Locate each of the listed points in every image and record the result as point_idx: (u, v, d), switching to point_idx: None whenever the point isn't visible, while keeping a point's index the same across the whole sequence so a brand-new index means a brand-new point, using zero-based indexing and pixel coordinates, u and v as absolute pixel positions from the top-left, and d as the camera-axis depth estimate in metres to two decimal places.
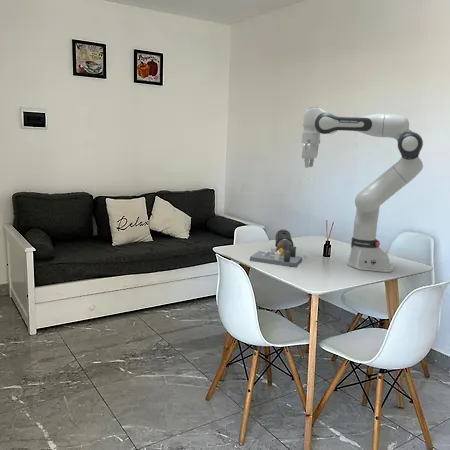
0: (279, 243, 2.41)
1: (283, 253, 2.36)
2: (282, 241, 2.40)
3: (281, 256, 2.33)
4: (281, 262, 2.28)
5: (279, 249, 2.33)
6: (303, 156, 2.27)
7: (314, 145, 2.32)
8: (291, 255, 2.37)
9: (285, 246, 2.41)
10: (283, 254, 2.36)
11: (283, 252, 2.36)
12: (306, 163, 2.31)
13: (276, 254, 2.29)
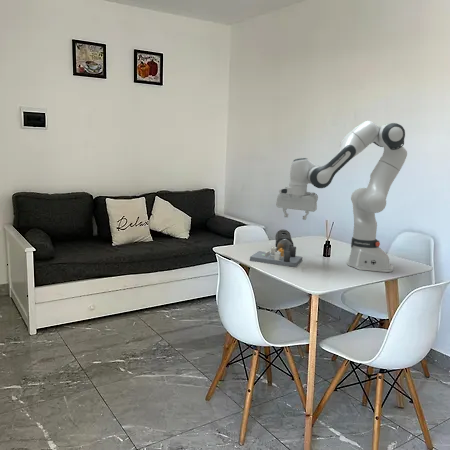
0: (279, 243, 2.41)
1: (283, 253, 2.36)
2: (282, 241, 2.40)
3: (281, 256, 2.33)
4: (281, 262, 2.28)
5: (279, 249, 2.33)
6: (315, 209, 2.24)
7: None
8: (291, 255, 2.37)
9: (285, 246, 2.41)
10: (283, 254, 2.36)
11: (283, 252, 2.36)
12: (306, 215, 2.27)
13: (276, 254, 2.29)
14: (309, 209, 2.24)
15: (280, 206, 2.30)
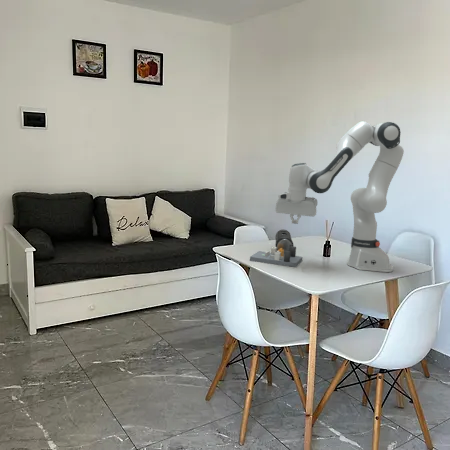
0: (279, 243, 2.41)
1: (283, 253, 2.36)
2: (282, 241, 2.40)
3: (281, 256, 2.33)
4: (281, 262, 2.28)
5: (279, 249, 2.33)
6: (315, 214, 2.24)
7: None
8: (291, 255, 2.37)
9: (285, 246, 2.41)
10: (283, 254, 2.36)
11: (283, 252, 2.36)
12: (298, 219, 2.28)
13: (276, 254, 2.29)
14: (309, 214, 2.24)
15: (279, 211, 2.30)
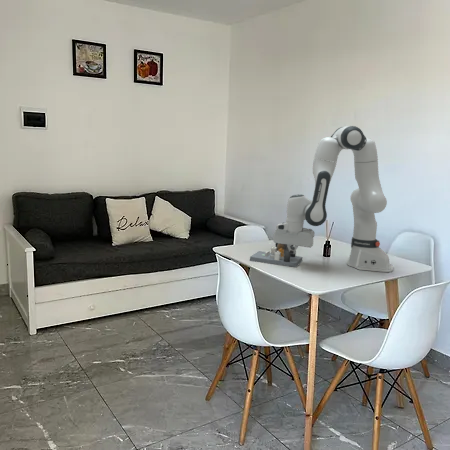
0: (279, 243, 2.41)
1: (283, 253, 2.36)
2: None
3: (281, 256, 2.33)
4: (281, 262, 2.28)
5: (279, 249, 2.33)
6: (312, 245, 2.27)
7: None
8: (291, 255, 2.37)
9: (285, 246, 2.41)
10: (283, 254, 2.36)
11: (283, 252, 2.36)
12: None
13: (276, 254, 2.29)
14: (306, 245, 2.27)
15: (277, 241, 2.32)
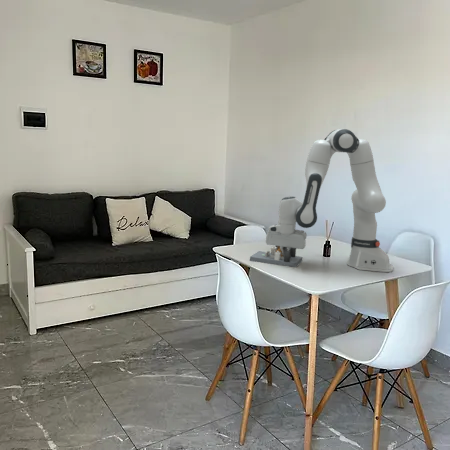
0: None
1: None
2: None
3: None
4: (281, 262, 2.28)
5: (278, 249, 2.33)
6: (304, 247, 2.29)
7: None
8: (291, 255, 2.37)
9: None
10: None
11: None
12: None
13: (276, 254, 2.29)
14: (298, 247, 2.29)
15: (270, 243, 2.34)
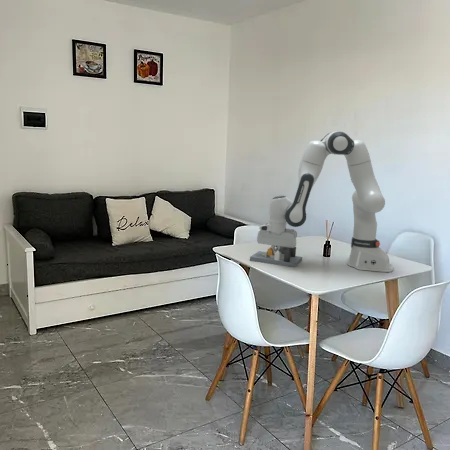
0: None
1: None
2: None
3: None
4: (281, 262, 2.28)
5: (269, 248, 2.35)
6: (294, 245, 2.30)
7: None
8: (291, 255, 2.37)
9: None
10: None
11: None
12: (278, 250, 2.35)
13: (276, 254, 2.29)
14: (289, 245, 2.30)
15: (261, 242, 2.36)
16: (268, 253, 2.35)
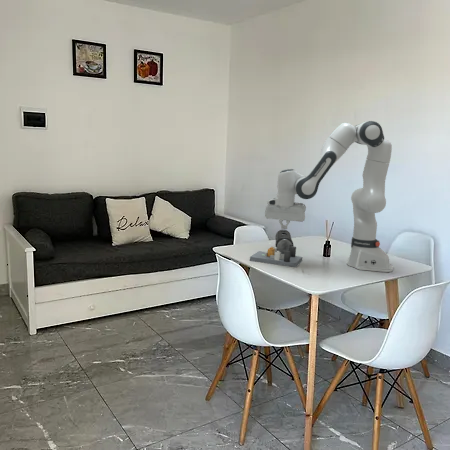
0: (279, 243, 2.41)
1: None
2: (282, 241, 2.40)
3: None
4: (281, 262, 2.28)
5: (270, 248, 2.35)
6: (303, 219, 2.27)
7: None
8: (291, 255, 2.37)
9: (285, 246, 2.41)
10: None
11: None
12: (287, 225, 2.32)
13: (276, 254, 2.29)
14: (298, 219, 2.27)
15: (269, 217, 2.33)
16: (268, 253, 2.35)
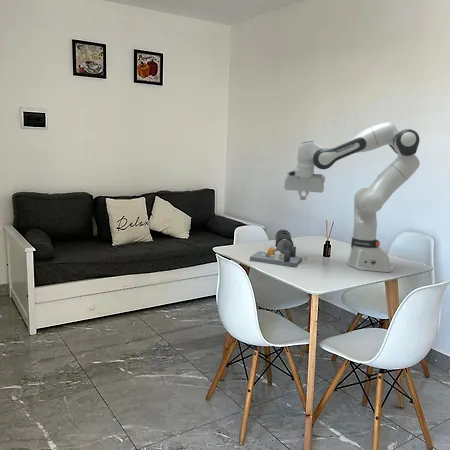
0: (279, 243, 2.41)
1: None
2: (282, 241, 2.40)
3: None
4: (281, 262, 2.28)
5: (270, 248, 2.35)
6: (322, 190, 2.33)
7: None
8: (291, 255, 2.37)
9: (285, 246, 2.41)
10: None
11: None
12: (306, 196, 2.37)
13: (276, 254, 2.29)
14: (317, 190, 2.33)
15: (288, 188, 2.38)
16: (268, 253, 2.35)
